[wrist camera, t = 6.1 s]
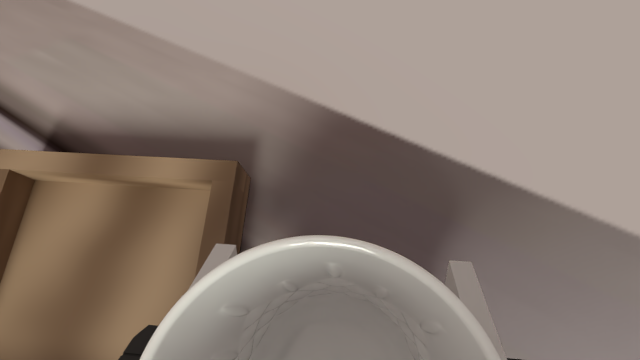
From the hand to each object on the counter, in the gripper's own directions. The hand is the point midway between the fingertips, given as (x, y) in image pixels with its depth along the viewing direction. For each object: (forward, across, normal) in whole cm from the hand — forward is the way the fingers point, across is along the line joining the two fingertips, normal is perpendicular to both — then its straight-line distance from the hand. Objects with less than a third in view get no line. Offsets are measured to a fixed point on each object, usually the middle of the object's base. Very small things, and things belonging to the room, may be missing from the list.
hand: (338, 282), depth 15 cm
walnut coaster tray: (+2, -11, -3) cm, 12 cm away
